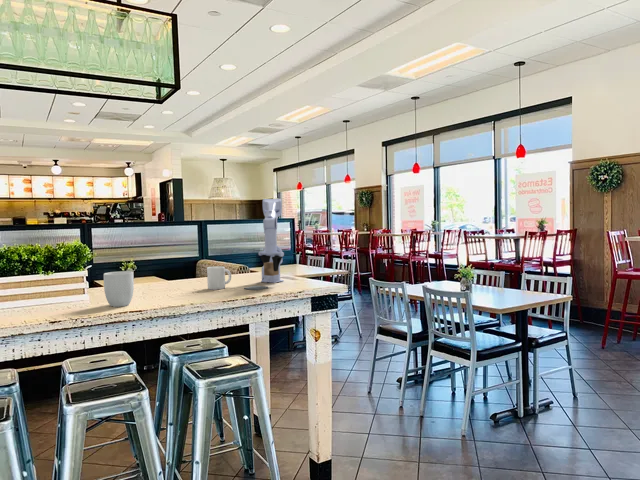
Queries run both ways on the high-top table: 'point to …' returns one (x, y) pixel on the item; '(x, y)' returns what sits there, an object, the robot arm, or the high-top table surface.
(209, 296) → the high-top table surface
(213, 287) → the mug
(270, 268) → the walnut block
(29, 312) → the high-top table surface
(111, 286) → the mug
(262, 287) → the slate coaster
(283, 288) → the high-top table surface
